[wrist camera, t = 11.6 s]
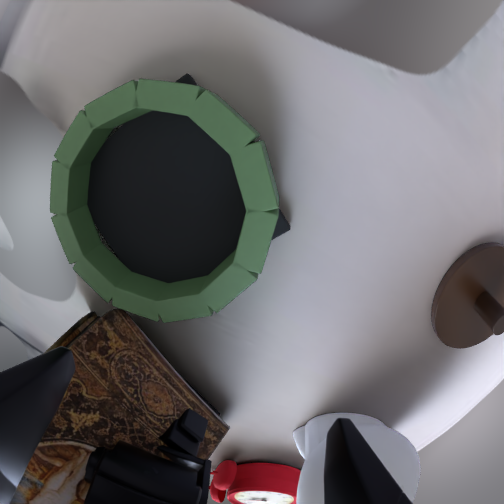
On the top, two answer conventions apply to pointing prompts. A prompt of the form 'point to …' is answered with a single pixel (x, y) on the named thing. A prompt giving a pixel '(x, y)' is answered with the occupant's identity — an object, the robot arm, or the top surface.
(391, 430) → the figurine
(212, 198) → the mat
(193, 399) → the book
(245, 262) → the ring
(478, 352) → the top surface
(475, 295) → the ring stand
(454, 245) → the top surface
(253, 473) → the alarm clock
